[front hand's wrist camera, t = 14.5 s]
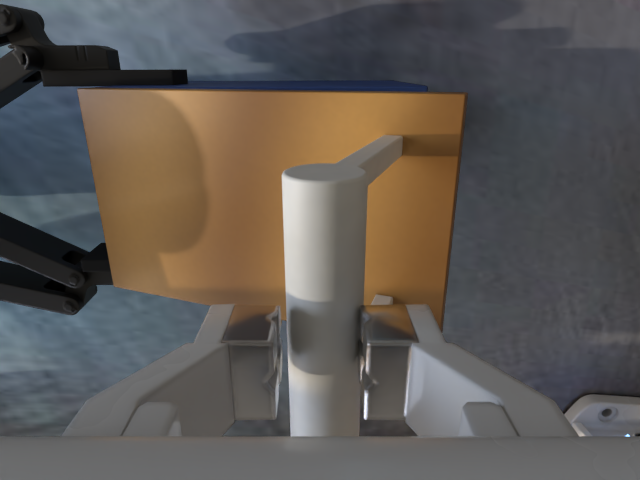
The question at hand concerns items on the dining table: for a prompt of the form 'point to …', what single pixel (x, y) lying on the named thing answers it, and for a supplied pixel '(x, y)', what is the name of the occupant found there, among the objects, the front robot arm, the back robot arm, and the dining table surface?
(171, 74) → the back robot arm
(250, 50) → the dining table surface
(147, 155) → the lid
